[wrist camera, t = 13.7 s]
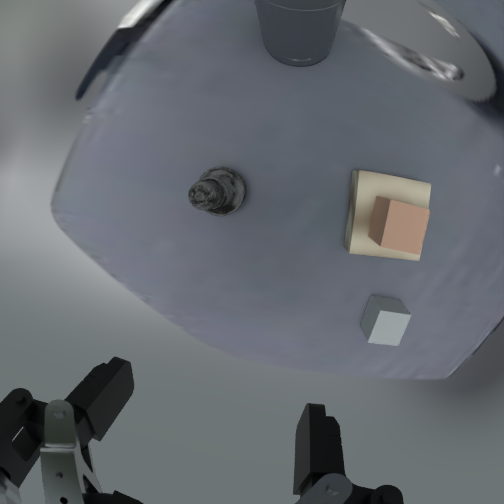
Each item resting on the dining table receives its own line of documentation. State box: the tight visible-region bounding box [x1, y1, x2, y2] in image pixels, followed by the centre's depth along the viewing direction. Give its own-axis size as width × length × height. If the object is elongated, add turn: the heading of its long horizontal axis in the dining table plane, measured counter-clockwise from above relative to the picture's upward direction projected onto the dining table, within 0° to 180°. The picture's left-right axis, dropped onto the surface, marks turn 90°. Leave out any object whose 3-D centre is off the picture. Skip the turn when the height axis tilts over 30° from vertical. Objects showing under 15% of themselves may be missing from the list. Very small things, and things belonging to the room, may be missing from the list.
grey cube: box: [360, 295, 411, 346], centre depth 35 cm, size 5×5×5 cm
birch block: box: [344, 170, 431, 261], centre depth 32 cm, size 10×10×4 cm
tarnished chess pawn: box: [188, 167, 246, 216], centre depth 30 cm, size 6×6×12 cm
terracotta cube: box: [368, 196, 430, 255], centre depth 28 cm, size 5×5×5 cm
